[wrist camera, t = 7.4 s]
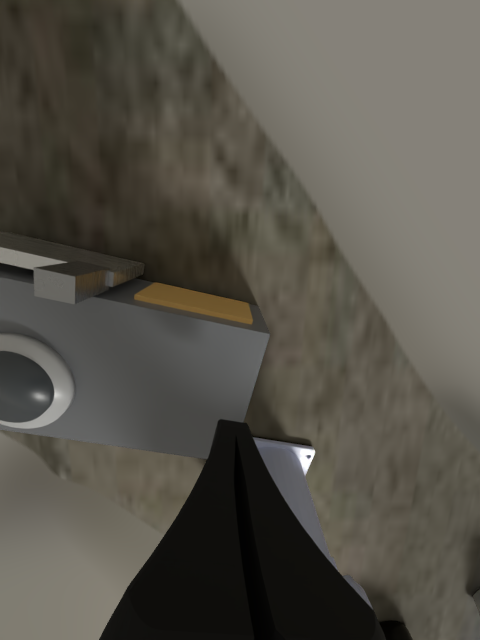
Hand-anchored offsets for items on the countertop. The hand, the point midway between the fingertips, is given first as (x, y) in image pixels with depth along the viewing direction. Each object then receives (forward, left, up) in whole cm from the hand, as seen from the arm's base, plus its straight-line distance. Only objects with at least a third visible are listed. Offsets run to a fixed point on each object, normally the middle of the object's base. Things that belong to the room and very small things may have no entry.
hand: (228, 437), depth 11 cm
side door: (+5, +12, -9) cm, 16 cm away
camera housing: (-1, +8, -10) cm, 12 cm away
